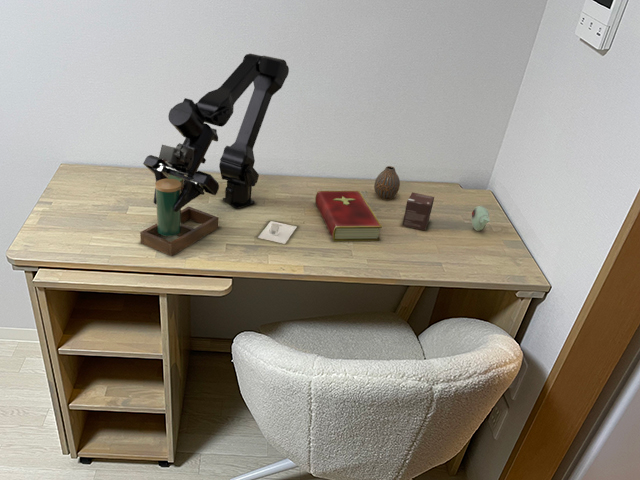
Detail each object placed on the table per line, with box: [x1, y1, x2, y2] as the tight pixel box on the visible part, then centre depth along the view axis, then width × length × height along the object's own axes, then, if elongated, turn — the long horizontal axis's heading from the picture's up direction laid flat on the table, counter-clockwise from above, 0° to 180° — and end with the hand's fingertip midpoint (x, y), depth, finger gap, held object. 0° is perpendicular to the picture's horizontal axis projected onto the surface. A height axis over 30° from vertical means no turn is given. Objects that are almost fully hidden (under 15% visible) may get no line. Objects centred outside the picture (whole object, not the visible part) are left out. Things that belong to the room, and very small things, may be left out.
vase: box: [373, 165, 401, 201], centre depth 172 cm, size 7×7×9 cm
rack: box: [139, 206, 220, 257], centre depth 149 cm, size 18×10×3 cm, turn 145°
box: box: [402, 192, 435, 231], centre depth 159 cm, size 6×6×7 cm
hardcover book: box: [314, 190, 383, 242], centre depth 159 cm, size 12×21×4 cm, turn 6°
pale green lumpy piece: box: [470, 205, 491, 232], centre depth 158 cm, size 8×4×7 cm, turn 175°
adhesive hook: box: [268, 221, 282, 236], centre depth 152 cm, size 3×3×3 cm
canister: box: [154, 179, 182, 237], centre depth 142 cm, size 6×6×12 cm
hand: (164, 207), depth 140 cm, fingers closed on canister, 5 cm apart
